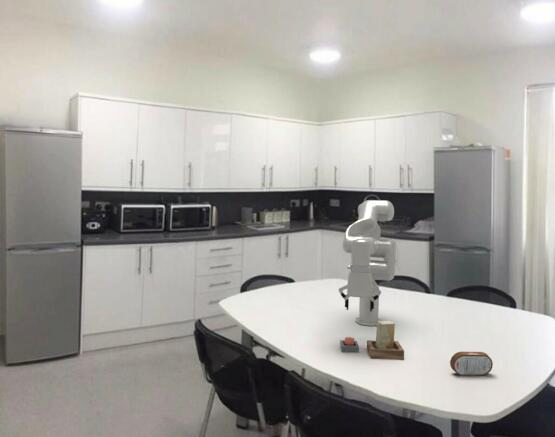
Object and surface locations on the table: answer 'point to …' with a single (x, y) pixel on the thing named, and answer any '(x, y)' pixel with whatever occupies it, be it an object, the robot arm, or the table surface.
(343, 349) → the button housing
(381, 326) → the skincare box
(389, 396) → the table surface
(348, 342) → the button
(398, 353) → the tray
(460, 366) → the tin
